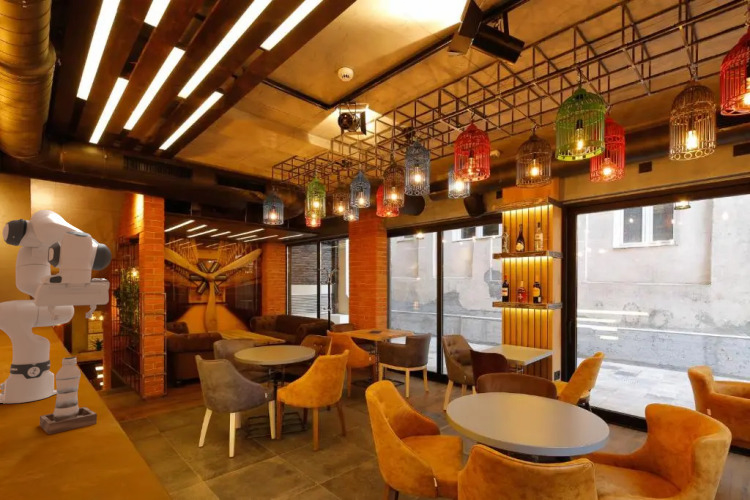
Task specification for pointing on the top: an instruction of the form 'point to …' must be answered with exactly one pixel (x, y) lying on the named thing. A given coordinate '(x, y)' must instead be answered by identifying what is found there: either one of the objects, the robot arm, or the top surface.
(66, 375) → the silver metal bottle
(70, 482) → the top surface
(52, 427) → the walnut tray
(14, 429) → the top surface
